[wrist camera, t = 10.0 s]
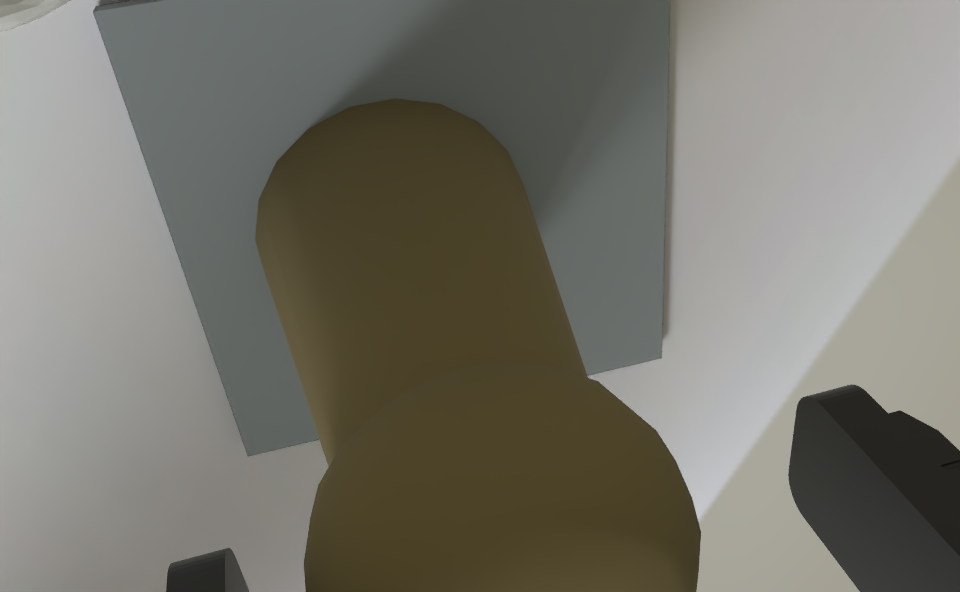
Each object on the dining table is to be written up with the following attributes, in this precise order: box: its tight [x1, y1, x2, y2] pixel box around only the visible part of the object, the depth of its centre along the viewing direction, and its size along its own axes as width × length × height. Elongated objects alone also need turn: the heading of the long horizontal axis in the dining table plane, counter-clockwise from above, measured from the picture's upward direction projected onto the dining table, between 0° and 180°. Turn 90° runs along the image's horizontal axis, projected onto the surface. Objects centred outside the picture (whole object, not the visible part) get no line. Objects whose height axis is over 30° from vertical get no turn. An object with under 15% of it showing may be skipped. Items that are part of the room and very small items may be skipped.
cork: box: [255, 98, 701, 592], centre depth 15 cm, size 6×6×11 cm
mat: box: [93, 0, 670, 456], centre depth 19 cm, size 11×11×1 cm
